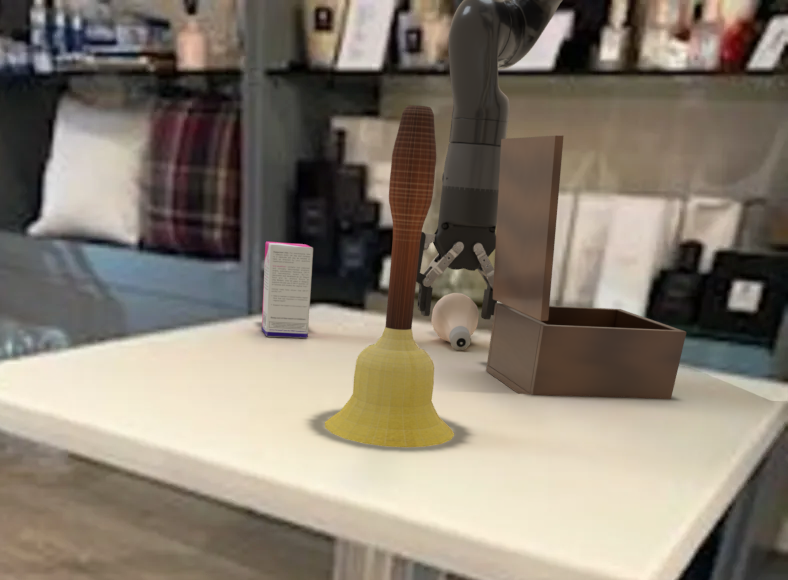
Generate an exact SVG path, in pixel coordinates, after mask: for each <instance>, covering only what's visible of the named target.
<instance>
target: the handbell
mask: <svg viewBox="0 0 788 580" xmlns="http://www.w3.org/2000/svg"><path fill="white" fill-rule="evenodd" d="M400 116H401V117H400V121H399V125H398V130H397V132H396V133H397V134H396V137H395V141H394V145H393V148H392V154H391V165H390V174H389V186H388V204H389V209H390V215H391V220H392V243H391V244H392V246H391V257H390V268H389V280H388V290H387V291H388V292H387V305H386V315H385V326H384V329H383V332H382V335H381V337H379V339H377V341H376V342H375V343H374V344H370V345H368V346H367V347H365V348H364V349H363V350H361V352H360V353H358V355H357V358H356V360H355V361H356V362H355V367H354V368H355V369H354V375H353V386H352V394H351V396H350V398H349V399H348V401H347V402H346V403H345V404H344V406H343V407H341V409H340V410H339V411H337V412H336V413H334V414H333V415H331V417H329V418H328V419H327V420H326V421H325V422H324V428H325V429H326V430H327V431H328V432H330V433H331V434H333V435H335V436H337V437H339V438H341V439H342V438H343V439H344V440H348V441H352V442H357V443H361V444H366V445H371V446H379V447H380V446H381V447H389V448H423V447H425V448H427V447H431V446H437V445H442V444H444V443H447V442H449V441H452V439H453V438H454V436H455V433H454V431H453V429H452V428H451V427H450V426H449V425H448V424H447V423H446V422H445V421H444V420H443V419H442V418H441V417H440V415H439V413H438V412H437V410H436V408H435V406H434V403H433V393H434V385H435V384H434V383H435V381H434V380H435V364H434V361H433V359H432V358H431V355H430V354H428V352H427V351H426V350H425V349H423V348H421V347H419V346H418V344H417V343H416V340H415V339H414V334H413V320H414V319H413V317H414V307H415V298H416V289H417V287H416V286H417V282H416V279H417V268H418V258H419V248H420V239H421V233H422V232H423V228H424V224H425V221H426V218H427V216H428V215H429V214H428V213H429V210H430V209H431V206H432V202H433V196H434V188H435V187H434V186H435V176H436V167H437V166H436V165H437V143H436V131H435V129H436V127H435V114H434V112H433V108H432V107H430V106H426V105H414V104H413V105H411V104H410V105H409V104H408V105H406V106H405V108H403V111H402V113H401V115H400Z"/></svg>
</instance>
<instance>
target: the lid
mask: <svg viewBox="0 0 788 580" xmlns="http://www.w3.org/2000/svg"><path fill="white" fill-rule="evenodd" d="M564 136H565V135H563V134H558V135H557V134H556V135H554V134H553V135H539V136H527V137H526V136H524V137H508V138H506V139H501V155H500V173H499V191H498V210H497V225H496V230H495V233H496V246H495V250H494V266H493V268H494V282H493V299H494V300H496V301H497V303H502V304H505V305H507V306H509V307H511V308H513V309H516V310H518V311H520V312H522V313H524V314H527V315H529V316H531V317H533V318H535V319H538V320H540V321H548V316H549V306H550V303H551V290H552V280H553V279H552V278H553V269H554V268H553V266H554V255H555V243H556V231H557V221H558V220H557V219H558V209H559V208H558V206H559V195H560V184H561V183H560V182H561V171H562V159H563V150H564V149H563V147H564Z"/></svg>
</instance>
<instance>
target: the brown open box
mask: <svg viewBox="0 0 788 580" xmlns="http://www.w3.org/2000/svg"><path fill="white" fill-rule="evenodd" d="M686 335H687V331H685V330H683V329H679V328H676V327H674V326H671V325H668V324H665V323H662V322H659V321H657V320H653V319H652V318H651V319H650V318H647V317H645V316H643V315H639V314H636V313H633V312H630V311H627V310H624V309H622V308H610V307H609V308H607V307H605V308H604V307H585V306H565V305H549V316H548V321H540V320H538V319H535V318H533V317H531V316H529V315H527V314H524V313H522V312H520V311H518V310H516V309H513V308H511V307H509V306H507V305H505V304H502V303H500V302H497V303H495V310H494V315H493V317H492V324H491V334H490V338H489V339H490V340H489V347H488V354H487V361H486V370H485V371H486V372H487V373H488V374H490V375H492V376H493V377H494V378H495V379H497V380H498V381H500V382H501V383H503V384H504V385H505V386H507V387H508V388H510V389H511V390H512V391H514V392H515V393H517V394H520V395H532V396H553V397H554V396H556V397H559V396H560V397H590V398H592V397H593V398H621V399H622V398H626V399H627V398H628V399H659V400H662V399H663V400H671V399H672V397H673V391H674V389H675V384H676V379H677V376H678V375H677V374H678V370H679V367H680V362H681V357H682V353H683V348H684V345H685V341H686V337H687V336H686Z"/></svg>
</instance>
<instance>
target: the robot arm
mask: <svg viewBox="0 0 788 580" xmlns="http://www.w3.org/2000/svg"><path fill="white" fill-rule="evenodd" d="M563 1H564V0H462V1H461V2H460V4H459V5H458V7H457V8H456V11H455V12H454V15H453V17H452V20H451V22H450V27H449V33H448V44H447V45H448V47H447V49H448V51H447V52H448V67H449V78H450V89H451V95H452V96H451V97H452V105H453V106H452V114H451V121H450V131H449V139H448V142H449V143H448V147H447V152H446V156H445V160H444V166H443V173H442V176H441V181H442V184H441V185H442V186H441V193H440V194H441V195H440V203H439V212H438V220H437V221H438V222H437V228H436V230H435V232H434V233H429V232H424V231H422V233H421V239H420V248H419V258H418V268H417V279H416V284H417V285H418V294H417V303H416V304H417V305H416V307H417V310H418V311H420V315H421V316H423V317H430V314H431V308H432V300H433V299H432V298H433V297H432V296H433V288H434V287H433V286H432V284H433V283H434V282H435V281H436V280H437V279H438V277H439V276H440V275H442V274H443V273H444V272H445V271H446V270H447V268H448V269H450V270H456V271H458V270H463V269H464V270H467V271H473V272H475V271H476V270H477V271H478V273H479V274H480V276H481V277H482V279H483V281H484V282H485V285H486V288H484V290H483V297H482V305H481V312H480V313H481V314H480V317H481V319H483V320H491V318H492V316H494V310H495V303H498V301H496V300H494V299H493V282H494V266H493V264H492V262H491V260H490V259H489V257H490V256H491V255H492V253H493V252H495V246H496V228H497V210H498V191H499V173H500V155H501V139H507V136H508V135H507V134H508V128H509V121H510V113H511V112H510V111H511V103H510V99H509V97H508V96H507V94H505V93H504V92H503V91H502V89H501V88H500V85H499V71H501V70H505V69H509V68H511V67H513V66H514V65H515V64H518V63H519V62H520V61H522V60H523V58H525V57H526V56H527V55H528V54H529V52H530V51H531V50H532V49H533V48H534V46H536V45H535V44H536V43H537V42H538V40H539V39H540V37H541V36H542V34H543V33H544V31H545V29H546V28H547V26H548V25H549V24H550V22H551V20H552V19H553V17H554V15H555V14H556V13H557V10H558V8H559V6H560V4H561V3H562V2H563ZM431 244H433V246H434V248H435V250H436V252H437V254H436V255H435V257H434V258H433V259H432V260H431V262H430V263H429V264H428V266H427V268H426V269H425V270H424V272H421V271H422V270H421V269H422V264H423V258H424V257H423V256H424V251H427V250H428V249H429V247H430V245H431Z"/></svg>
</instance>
